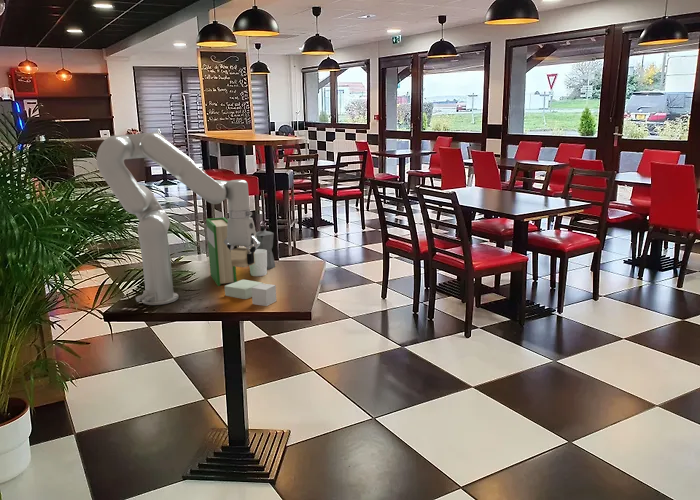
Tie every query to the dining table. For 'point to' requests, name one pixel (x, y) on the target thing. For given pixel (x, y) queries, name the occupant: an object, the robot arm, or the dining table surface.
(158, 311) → the dining table surface
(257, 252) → the white cup
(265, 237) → the coffeepot
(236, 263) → the maple cube
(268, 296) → the grey cube
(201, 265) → the dining table surface
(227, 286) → the base block
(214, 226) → the hardback book
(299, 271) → the dining table surface
